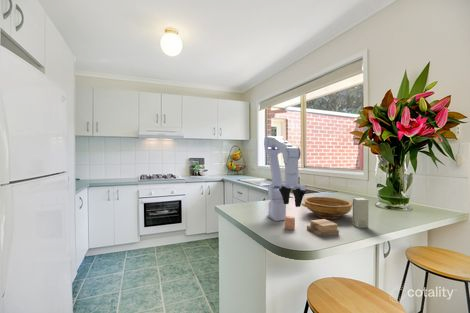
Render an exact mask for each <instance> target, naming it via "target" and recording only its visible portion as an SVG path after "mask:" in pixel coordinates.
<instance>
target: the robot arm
mask: <svg viewBox="0 0 470 313" xmlns="http://www.w3.org/2000/svg"><path fill="white" fill-rule="evenodd" d="M263 146H264V147H263V148H264V152H265V154H267V155H268V161H269V168H270V173H271V179H272V180H271V181H272V183H270V184H269V185H268V190H267V192H268V194H267V196H268V199H269V202H268V214H266V216H267V217H268V218H270V219H272V220H273V221H275V222H277V221H279V222H280V221H285V216H287V205H289V204H290V196H291V191H292V194H293V196H294V197H293V198H294V205H295V208H301V206H302V203H303V202H302V201H303V200H304V199H303V198H304V196H305V194H306V192H307V190H306V184H300V183H299V159H300V158H301V148H300V147H299V146H293V145H292V144H290V143H289V140H285V139H284V137H283V136H268V135H265V137H264V140H263ZM279 154H282V158H283V164H284V181H283V179H282V173H281V168H280V162H279V156H278V155H279Z"/></svg>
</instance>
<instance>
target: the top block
mask: <svg viewBox="0 0 470 313" xmlns="http://www.w3.org/2000/svg"><path fill="white" fill-rule="evenodd" d="M309 225H310V226H311V227H313V228H315V229H317V230H319V231H321V232H328V231H335V230H338V224H337V223H335V222H334V221H331V220H329V219H327V218H322V219H314V220H310V224H309Z"/></svg>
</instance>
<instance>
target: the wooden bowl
mask: <svg viewBox="0 0 470 313" xmlns="http://www.w3.org/2000/svg"><path fill="white" fill-rule="evenodd" d="M303 201H304V203H303V202H301V206H302V207H305V208H307V210H309V211H310V212H312V213H314V214H315V215H316V216H317V217H319V218H322V219H327V220H329V219H330V220H331V219H334V220H335V219H338V218H339V217H340V216H344V215H347V214H348V213H349V212H350V211H351V210H352V209H353V201H350V200H347V199H343V198H338V197H332V196H331V197H330V196H310V197H309V196H308V197H304V199H303Z"/></svg>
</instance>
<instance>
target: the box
mask: <svg viewBox="0 0 470 313" xmlns="http://www.w3.org/2000/svg"><path fill="white" fill-rule="evenodd" d="M352 203H353V205H352V225H353V226H354V227H356V228H357V229H358V228H359V229H360V228H361V229H363V228H364V229H366V228H367V229H368V228H369V199H366V198H364V197H354V198H353V197H352Z"/></svg>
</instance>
